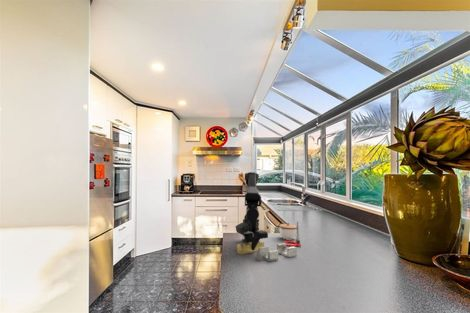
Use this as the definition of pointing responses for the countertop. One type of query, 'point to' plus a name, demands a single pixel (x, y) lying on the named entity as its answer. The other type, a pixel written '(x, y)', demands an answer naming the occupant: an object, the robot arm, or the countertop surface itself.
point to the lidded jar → (288, 231)
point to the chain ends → (275, 252)
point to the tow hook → (296, 240)
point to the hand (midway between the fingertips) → (250, 249)
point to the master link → (248, 247)
